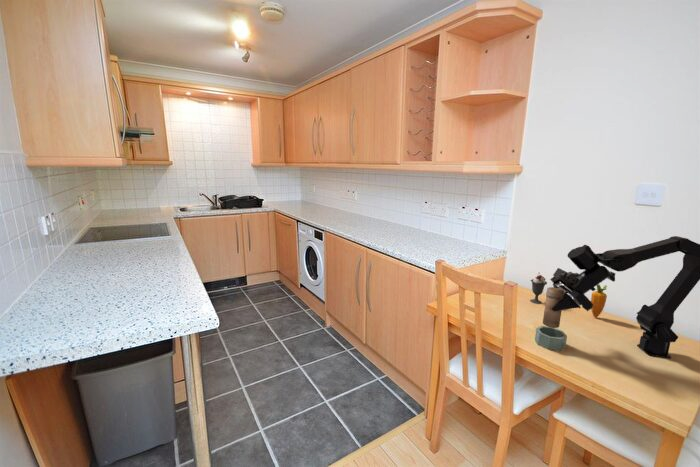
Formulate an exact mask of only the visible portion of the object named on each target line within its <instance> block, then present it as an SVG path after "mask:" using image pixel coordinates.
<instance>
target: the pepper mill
mask: <svg viewBox="0 0 700 467" xmlns="http://www.w3.org/2000/svg"><path fill="white" fill-rule="evenodd" d="M545 295H546V296H545V301H546V302H544V310H543V318H542V324H543V326H547V327H551V328H556V329H558V328H559V327H560V323H561V317H562V311H563V310H559V311H553V310H552V308H553V307H554V306H555V305H556V304H557V303H558V302H559V301H561V300H562V299H563V298H564V290H562V289H559V288H554V287H553V286H551V287H550V286H549V287H547V289H546V294H545Z"/></svg>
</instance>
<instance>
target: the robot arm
mask: <svg viewBox="0 0 700 467" xmlns="http://www.w3.org/2000/svg"><path fill="white" fill-rule="evenodd" d="M678 252H680V253H682V254H684V255H683V257H682V268H681V269H680V270H679V272H678V273H677V274H676V275H675V277H674V278H673V280H672V281H671V282H670V284H669V285H668V286H667V287H666V289H665V290H664V291H663V293H662V294H661V295H660V296H659V298H658V299H657V300H656V301H655V303H654V304H651V305H647V304H643V305H642V306H641V309H640V310H639V311H638V312H636V314H637V316H636V318H635V319H636V321H637V324H638V325H639V329H640V330H642V331H643V332H642V335H641V336H640V337H639V338H640V339H639V343H637V345H636V347H637V348H639V349H640V350H641V351H642V352H644V353H645V354H647V355H648V356H652V357H661V358H669V359H672V355H670V354H669V350H670V345H671V343H676V341H677V340H678V339H679V336H678V335H677V334H676V333H675V332H674V330H672V326H673V325H674V323H675V320H674V319H675V316H674V315H675V314H674V313H675V311H677V309H678V308H679V307H680V305H681V304H682V303H683V301H684V300H685V299H686V297H688V295H689V294H690V293H691V291H692V290H693V289H694V288H695V286H696V285H697V284H698V283H699V281H700V243H698V242H695V241H694V240H691V239H690V238H687V237H682V236H679V235H678V236H676V235H675V236H674V235H673V236H671V237H668V238H665V239H661V240H659V241H655V242H650V243H648V244H643V245H639V246H637V247H633V248H618V249H609V250H606V251H603V252H602V253H601V252H600V253H595V252H594V251H593V249H592V248H591V247H590V246H589V245H587V244H583V245H582V246H578V247H575V248H573V249H571V250H570V251H569V252H568V253H567V255H566V256H567V258H569V259H570V261H571V262H572V263H573V264H574V265H575V266H576V268H578V269H579V270H580V271H582V270H583V271H582V272H580V273H578V272H572V271H568V272H567V271H566V270H563V269H561V268H559V267H558V268H557V269H556V270H555V271H554V273H553V274H552V276H553V277H551V278H550V279H549V280H550V281H551V283H552V287H554V288H559V289H562V290H564V298H563V299H562V300H561V301H559V302H558V303H557V304H556V305H555V306H554V307H553V308H552V310H553V311H559V310H562V311H563V310H569V309H581V308H583V309H584V310H585V311H586V312H590V310H591V309H592V308H593V303H592V302H591V299H589V298H588V297H587V296H586V295H585V294H586V293H587V292H589V291H592V292H595V291H597V288H595V287H597V285H598V284H599V285H600V284H601V283H602V282H604V281H605V280H609V281H612V282H615V281H616V277H615V276H616V272H625V271H628V270H629V269H632V268H634V267H635V266H637V264H638V263H641V262H644V261H648V260H651V259H655V258H659V257H662V256H667V255H670V254H674V253H678ZM599 263H600V264H602V265H600V264H599ZM608 268H609V269H611V270H613V271H616V272H613V271H610V270H609V269H608ZM545 302H546V300H545ZM545 302H544V303H545Z"/></svg>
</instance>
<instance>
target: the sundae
mask: <svg viewBox="0 0 700 467" xmlns="http://www.w3.org/2000/svg"><path fill="white" fill-rule="evenodd" d="M530 282H531V288H532V289H531V290H532V293H533V294H534V295H535V297H534V298H533V299H532V298H531V299H530V300H529V301H530V302H531V303H533V304H536V305H537V304H538V305H542V304H543V302H542V301H541V300H539V295H542V294H543V292H544V288H545V286H546V285H547V284H548V282H547V281H546V278H545V277H544V276H543V275H541V274H540V273H538V275H537V276H535V278H532V279H531V280H530Z"/></svg>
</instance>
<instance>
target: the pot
mask: <svg viewBox="0 0 700 467" xmlns="http://www.w3.org/2000/svg"><path fill="white" fill-rule="evenodd" d="M534 334H535V335H534V341H535V343H536V345H537V346H540V347H542V348H544V349H545V350H546V349H547V350H549V351H558V352H562V351H563V350H565V349H566V346H567V339H568V336H567V334H566V333H565V332H564V331H563V330H561V329H558V328H551V327H548V326H545V325H540V326H537V327H535V333H534Z"/></svg>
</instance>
